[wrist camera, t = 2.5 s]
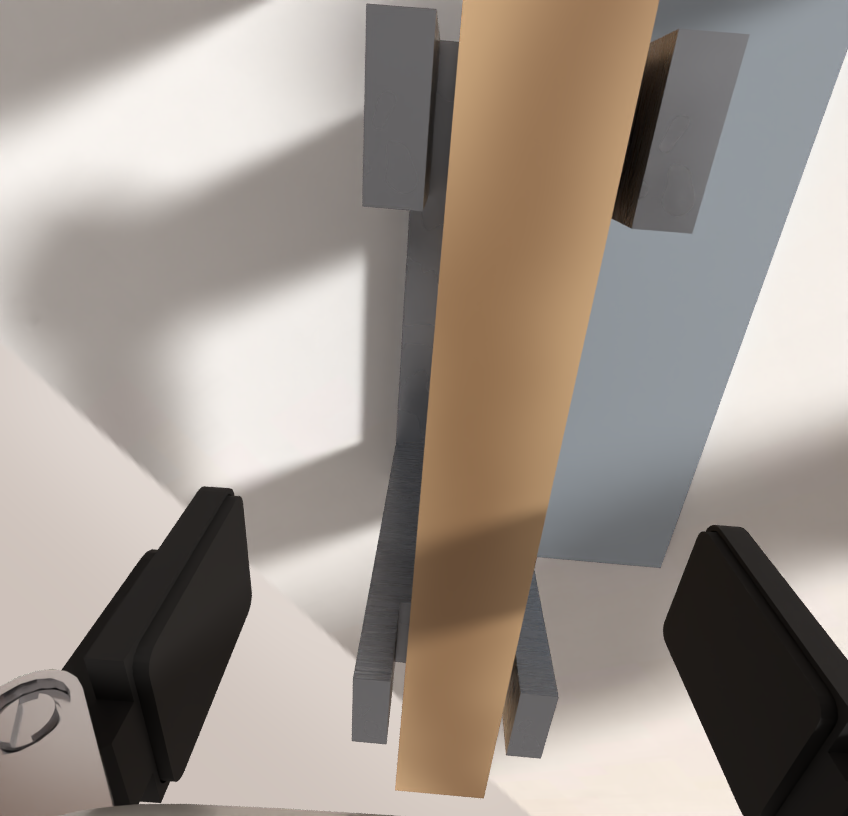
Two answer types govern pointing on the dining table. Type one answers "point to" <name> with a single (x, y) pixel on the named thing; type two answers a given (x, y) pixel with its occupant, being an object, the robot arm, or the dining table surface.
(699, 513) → the dining table surface
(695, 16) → the mat
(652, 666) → the dining table surface
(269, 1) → the dining table surface
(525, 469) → the rail
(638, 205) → the rail rack
